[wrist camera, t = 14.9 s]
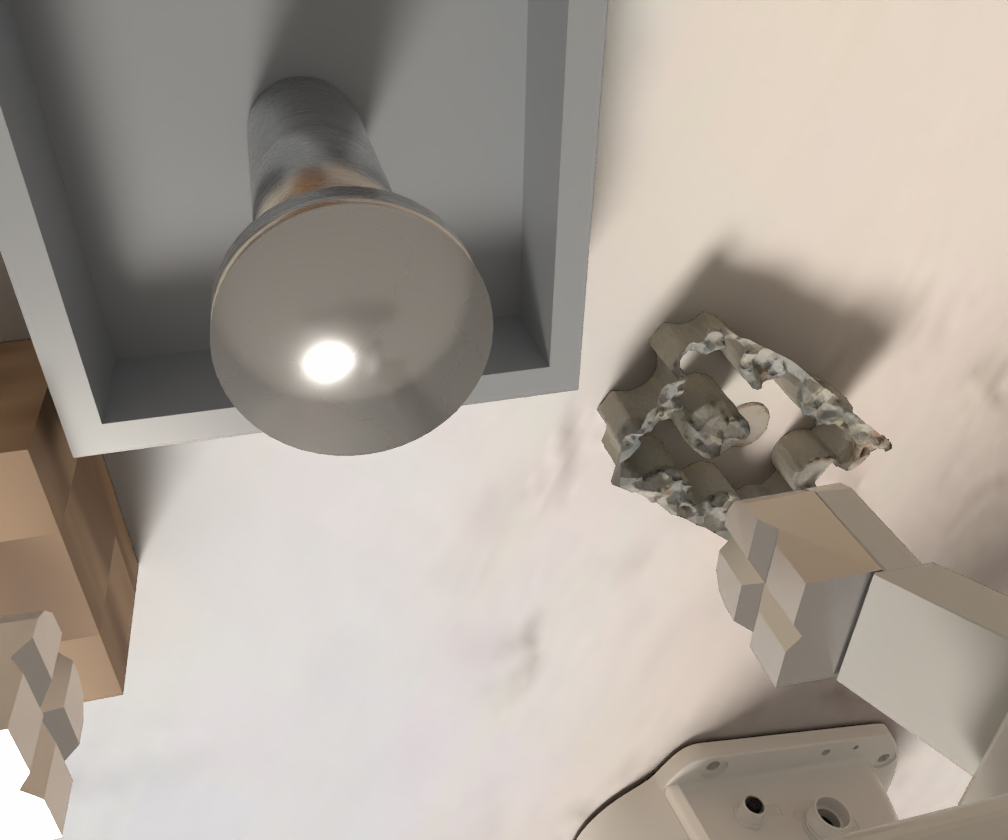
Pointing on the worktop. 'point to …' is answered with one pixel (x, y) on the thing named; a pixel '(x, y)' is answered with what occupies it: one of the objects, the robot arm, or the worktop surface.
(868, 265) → the worktop surface
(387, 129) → the grey tray
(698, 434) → the egg carton
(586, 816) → the worktop surface
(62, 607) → the socket block
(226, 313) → the steel pin
